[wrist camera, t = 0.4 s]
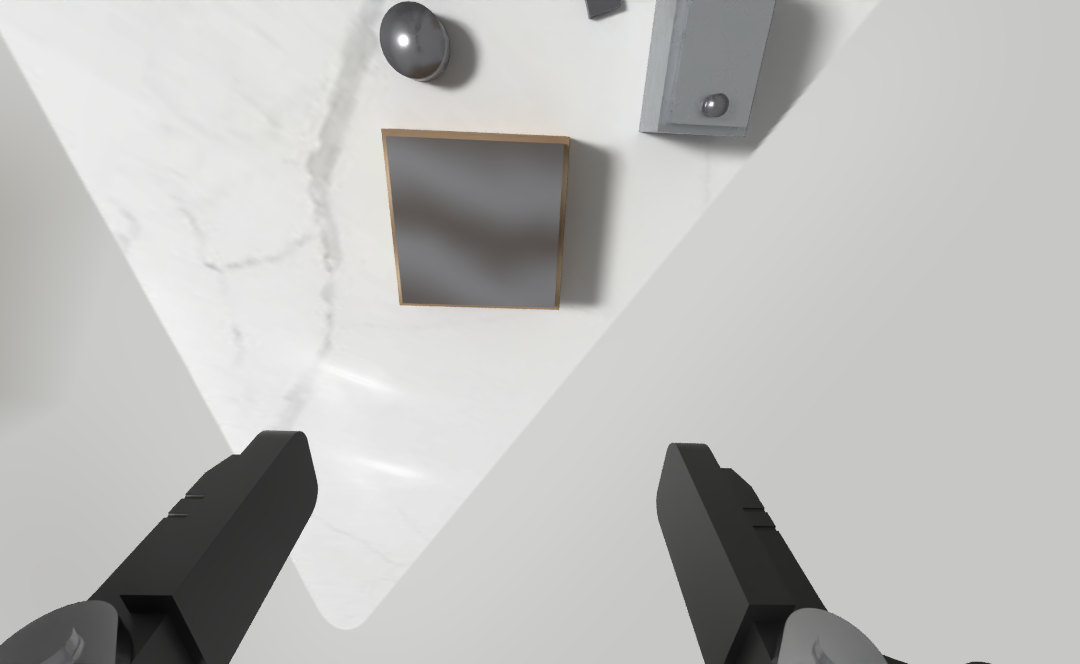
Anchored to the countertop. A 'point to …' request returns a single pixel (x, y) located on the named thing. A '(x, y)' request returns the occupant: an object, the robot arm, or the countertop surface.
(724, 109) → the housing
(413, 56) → the dark grey domed cap
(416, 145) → the stand
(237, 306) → the countertop surface
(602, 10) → the bar
